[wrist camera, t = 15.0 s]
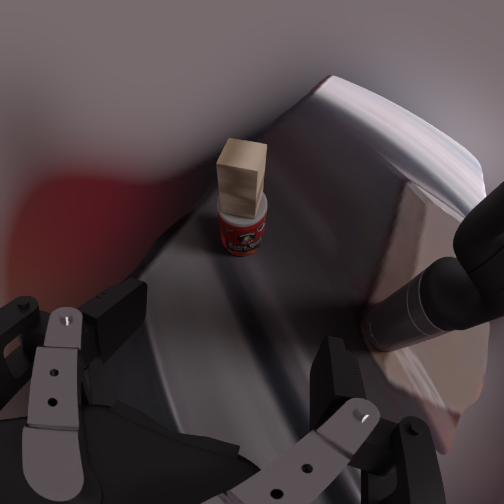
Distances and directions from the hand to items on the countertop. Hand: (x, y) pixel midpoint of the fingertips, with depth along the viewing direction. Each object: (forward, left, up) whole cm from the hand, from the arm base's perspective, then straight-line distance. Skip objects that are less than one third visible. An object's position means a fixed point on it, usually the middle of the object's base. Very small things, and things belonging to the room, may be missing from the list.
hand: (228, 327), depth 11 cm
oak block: (-6, -22, -22) cm, 31 cm away
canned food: (-6, -22, -33) cm, 40 cm away
